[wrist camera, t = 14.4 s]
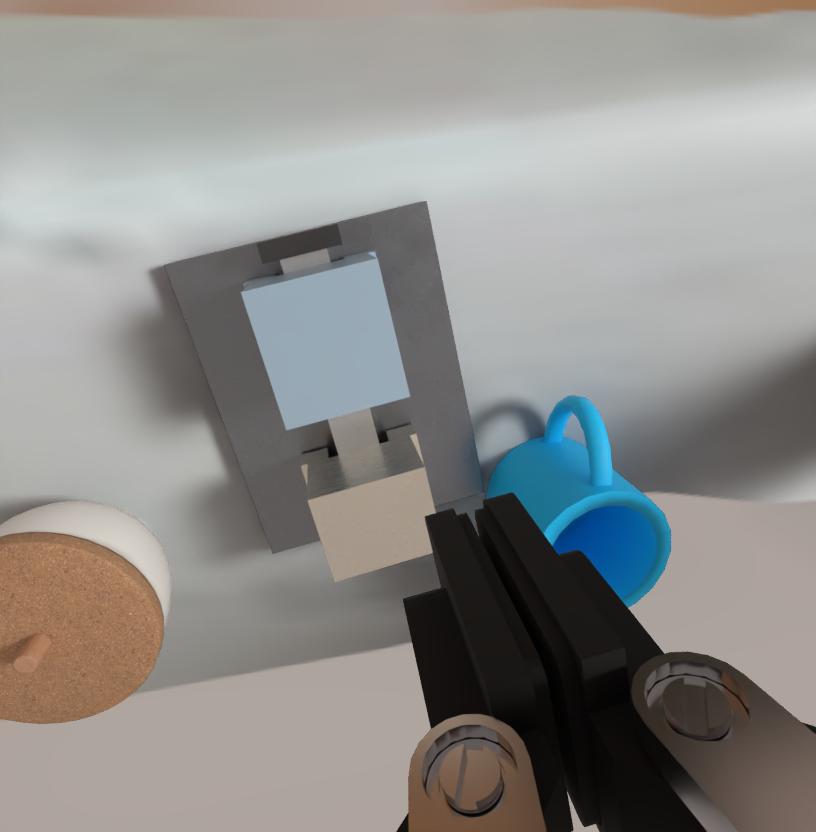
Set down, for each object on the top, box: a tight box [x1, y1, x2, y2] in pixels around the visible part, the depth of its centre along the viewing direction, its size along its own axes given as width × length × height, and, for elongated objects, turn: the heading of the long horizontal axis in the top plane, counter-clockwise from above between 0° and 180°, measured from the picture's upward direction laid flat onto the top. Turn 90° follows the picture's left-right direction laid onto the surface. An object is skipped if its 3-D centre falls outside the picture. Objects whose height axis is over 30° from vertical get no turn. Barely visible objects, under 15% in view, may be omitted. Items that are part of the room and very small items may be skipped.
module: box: [241, 250, 410, 430], centre depth 28 cm, size 7×6×6 cm
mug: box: [486, 396, 671, 608], centre depth 33 cm, size 12×8×8 cm
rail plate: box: [164, 201, 485, 582], centre depth 30 cm, size 14×18×7 cm
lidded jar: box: [0, 501, 172, 724], centre depth 29 cm, size 11×11×9 cm
